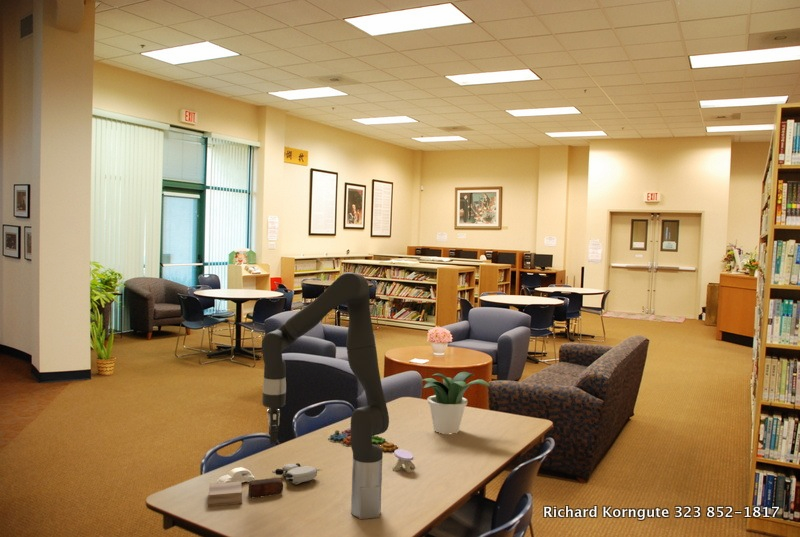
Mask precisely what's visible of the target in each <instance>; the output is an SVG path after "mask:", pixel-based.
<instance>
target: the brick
mask: <svg viewBox="0 0 800 537" xmlns="http://www.w3.org/2000/svg"><path fill="white" fill-rule="evenodd" d="M283 490H284V483H283V480H282V479H281V478H280V477H270V478H264V479H255V480H254V479H253V480H252V481H249V483H248V496H249V495H250V496H249V498H251V499H253V498H252V497H257V498H262V497H261V496H264V497H270V496H269V495H271V496H277V495H282V493H283ZM276 494H277V495H276Z"/></svg>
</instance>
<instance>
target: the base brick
mask: <svg viewBox="0 0 800 537" xmlns="http://www.w3.org/2000/svg"><path fill="white" fill-rule="evenodd" d="M208 489H209V490H208V500H207V507H216V506H217V507H218V506H226V505H227V506H228V504H230V505H240V504H239V503H242V504H243V490H242V482H241V481H240V482H227V483H217V482H216V483H215V482H214V483H209V484H208Z"/></svg>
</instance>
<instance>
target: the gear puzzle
mask: <svg viewBox="0 0 800 537" xmlns="http://www.w3.org/2000/svg"><path fill="white" fill-rule="evenodd" d="M327 440H328V441H329V443H334V444H335V443H337V444H341V445H342V446H343V447H351V427H350V428H346V429H345V430H343V431H341V433H340V431H339V430H338V429H336V430H335V431H334V433H333V434H330V436H329V438H327ZM372 444H374V445H377V446H379V447H381V448H382V451H384V452H392V451H395V450H397V449H399V446H398V444H394V443H393V442H388V441H387V440H386V438H383V437H382V436H378V435H375V436H372ZM380 445H381V446H380Z"/></svg>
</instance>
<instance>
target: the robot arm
mask: <svg viewBox="0 0 800 537" xmlns="http://www.w3.org/2000/svg"><path fill="white" fill-rule="evenodd" d="M370 299H371V298H370V286H369V282H368V280H367V279H366V278H365V277H364V276H363V275H362V274H359V273H354V272H351V271H349V272H344V273H342V274H340V275H339V276H338V277H337V278H336V279H335V280H334V281H333V282H332V283H331V284H330V285H329V286H328V287H327V288H326V289H325V290H324V291H323V292H322V293H320V295H318V297H316V298H315V299H314V300H312V301H311V302H310V303H309V304H307V305H306V306H305V307H303V308H302V309H301V310H300V311H298V312H296V313H295V314H293V315H292V316H291V317H289V318H288V319H287V320H286V321H285V323H284V324H282V325H281V326H280V327H278V328H277V329H275V330H273V331H270V332H268V333H266V334H264V336H263V338H262V341H261V354H262V359H263V363H264V367H263V382H262V398H261V399H262V401H261V404H262V406H263V407H265V408H268V409H266V412H267V421H268V435H269V444H271V445H277V443H278V433H279V426H280V417H281V411H280V409H279V408H280V407H284V406H286V397H287V396H286V395H287V381H286V379H287V378H286V377H287V374H286V373H287V372H286V371H287V364H286V361H285V360H284V359H283V351H284V350H286V349H287V348H289V347H290V346H291V345H292V344H294V343H295V342H296V341H297V340H298V339H299V338H301V337H303V336H304V335H306V334H307V333H308V332H310V331H312V330H313V328H315V327H316V326H317V325H318V324H319V323H321V321H322V320H324V318H326V316H327V315H328V314H329V313H331V311H333V310H334V309H335V308H337V307H339V306H341V305H343V304H345V303H346V307H347V313H348V327H347V335H346V344H345V345H346V353H347V354H346V355H347V361H348V365H349V367H350V368H349V369H351V371H352V373H353V375H354V376H355V378H356V379H357V380H358V382H359V383H360V385H361V386H362V388H363V390H364V392H365V393H364V394H365V397H366V403H367V405H366V406H361V407H358V408H355V409H354V410H353V412H352V414H351V417H350V428H351V451H352V452H351V453H352V466H351V469H352V472H351V474H352V475H351V498H350V499H351V503H350V504H351V505H350V506H351V507H350V509H351V510H350V511H351V513H350V514H352V515H353V516H354V517H357V518H358V519H359V520H362V519H365V520H367V519H374V518H375V519H376V518H380V514H381V512H382V510H381V509H382V485H383V484H382V481H383V480H382V478H383V455H384V452H383V450H382V448H381V447H379V446H377V445H374V444H372V436H378V435H381V434H384V433H386V431H388V428H389V425H390V414H389V411H388V406H387V402H386V397H385V394H384V389H383V385H382V380H381V373H380V367H379V361H378V360H379V359H378V353H377V346H376V341H375V340H376V339H375V334H374V333H375V332H374V327H373V323H372V322H373V321H372V315H371V308H370V307H371V305H370V304H371V303H370Z"/></svg>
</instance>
